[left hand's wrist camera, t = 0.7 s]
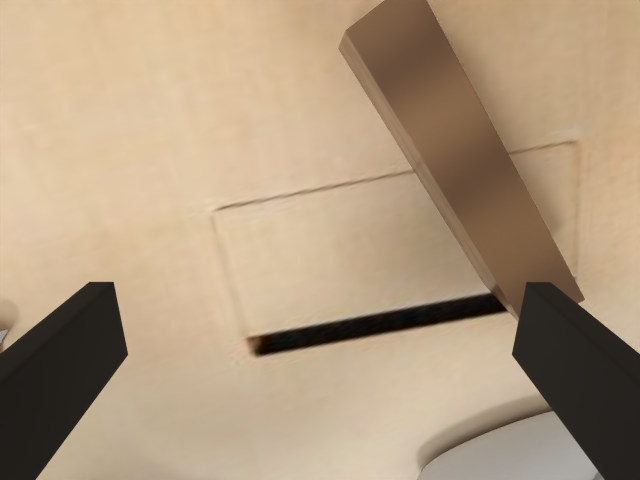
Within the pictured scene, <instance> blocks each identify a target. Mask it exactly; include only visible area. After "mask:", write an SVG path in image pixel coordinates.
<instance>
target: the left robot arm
mask: <svg viewBox="0 0 640 480" xmlns="http://www.w3.org/2000/svg"><path fill="white" fill-rule="evenodd" d="M127 356H128V352H127V347H126V342H125V337H124V332H123V327H122V322H121V317H120V312H119V307H118V302H117V297H116V292H115V287H114V282H89V283H88V284H86V285H85V286H84V287H83V288H81V289H80V290H79V291H78V292H76V293H75V294H74V295H73V296H72V297H70V298H69V299H68V300H67V301H65V302H64V303H63V304H62V305H60V306H59V307H58V308H57V309H55V310H54V311H53V312H52V313H50V314H49V315H48V316H47V317H46V318H44V319H43V320H42V321H41V322H39V323H38V324H37V325H36V326H34V327H33V328H32V329H31V330H29V331H28V332H27V333H26V334H25V335H23V336H22V337H21V338H20V339H18V340H17V341H16V342H15V343H13V344H12V345H11V346H10V347H8V348H7V349H6V350H5V351H4V352H2V353H1V354H0V480H36V478H37V477H38V476H39V474H40V473H41V472H42V470H43V469H44V468H45V466H46V465H47V464H48V462H49V461H50V460H51V458H52V457H53V455H54V454H55V453H56V451H57V450H58V449H59V447H60V446H61V445H62V443H63V442H64V441H65V439H66V438H67V437H68V435H69V434H70V432H71V431H72V430H73V428H74V427H75V426H76V424H77V423H78V422H79V420H80V419H81V418H82V416H83V415H84V414H85V412H86V411H87V410H88V408H89V407H90V405H91V404H92V403H93V401H94V400H95V399H96V397H97V396H98V395H99V393H100V392H101V391H102V389H103V388H104V387H105V385H106V384H107V383H108V381H109V380H110V378H111V377H112V376H113V374H114V373H115V372H116V370H117V369H118V368H119V366H120V365H121V364H122V362H123V361H124V360H125V358H126V357H127ZM512 356H513V357H514V358H515V360H516V361H517V362H518V364H519V365H520V366H521V368H522V369H523V370H524V372H525V373H526V374H527V376H528V377H529V378H530V380H531V381H532V383H533V384H534V385H535V387H536V388H537V389H538V391H539V392H540V393H541V395H542V396H543V397H544V399H545V400H546V401H547V403H548V404H549V405H550V407H551V408H552V410H553V411H554V412H555V414H556V415H557V416H558V418H559V419H560V420H561V422H562V423H563V424H564V426H565V427H566V428H567V430H568V431H569V432H570V434H571V435H572V437H573V438H574V439H575V441H576V442H577V443H578V445H579V446H580V447H581V449H582V450H583V451H584V453H585V454H586V455H587V457H588V458H589V460H590V461H591V462H592V464H593V465H594V466H595V468H596V469H597V470H598V472H599V473H600V474H601V476H602V477H603V478H604V480H640V354H639V353H638V352H636V351H635V350H634V349H633V348H632V347H630V346H629V345H628V344H627V343H625V342H624V341H623V340H622V339H620V338H619V337H618V336H617V335H615V334H614V333H613V332H612V331H611V330H609V329H608V328H607V327H606V326H604V325H603V324H602V323H601V322H599V321H598V320H597V319H596V318H594V317H593V316H592V315H591V314H590V313H588V312H587V311H586V310H585V309H583V308H582V307H581V306H580V305H578V304H577V303H576V302H575V301H573V300H572V299H571V298H570V297H568V296H567V295H566V294H565V293H564V292H562V291H561V290H560V289H559V288H557V287H556V286H555V285H554V284H552V283H551V282H526V287H525V292H524V297H523V302H522V307H521V312H520V317H519V322H518V327H517V332H516V337H515V342H514V347H513V352H512Z"/></svg>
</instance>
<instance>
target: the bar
mask: <svg viewBox="0 0 640 480" xmlns="http://www.w3.org/2000/svg"><path fill="white" fill-rule="evenodd" d="M339 50H340V52H341V53H342V55H343V56H344V58H345V60H346V61H347V63H348V64H349V66H350V68H351V69H352V71H353V73H354V74H355V76H356V77H357V79H358V81H359V82H360V84H361V86H362V87H363V89H364V90H365V92H366V94H367V95H368V97H369V98H370V100H371V102H372V103H373V105H374V107H375V108H376V110H377V111H378V113H379V115H380V116H381V118H382V119H383V121H384V123H385V124H386V126H387V128H388V129H389V131H390V132H391V134H392V136H393V137H394V139H395V140H396V142H397V144H398V145H399V147H400V149H401V150H402V152H403V153H404V155H405V157H406V158H407V160H408V161H409V163H410V165H411V166H412V168H413V170H414V171H415V173H416V174H417V176H418V178H419V179H420V181H421V182H422V184H423V186H424V187H425V189H426V191H427V192H428V194H429V195H430V197H431V199H432V200H433V202H434V203H435V205H436V207H437V208H438V210H439V212H440V213H441V215H442V216H443V218H444V220H445V221H446V223H447V225H448V226H449V228H450V229H451V231H452V233H453V234H454V236H455V237H456V239H457V241H458V242H459V244H460V246H461V247H462V249H463V250H464V252H465V254H466V255H467V257H468V258H469V260H470V262H471V263H472V265H473V267H474V268H475V270H476V271H477V273H478V275H479V276H480V278H481V279H482V281H483V283H484V284H485V286H486V287H487V288H488V289H489V290H490V291H491V292H492V293H493V294H494V296H495V297H496V298H497V299H498V300H499V301H500V302H501V303H502V304H503V306H504V307H505V308H506V309H507V310H508V311H509V312H510V313H511V314H512V316H513V317H514V318H515V319H516V320H517V321H518V322H519V317H520V312H521V307H522V302H523V297H524V292H525V287H526V282H551V283H552V284H554V285H555V286H556V287H557V288H559V289H560V290H561V291H562V292H564V293H565V294H566V295H567V296H568V297H570V298H571V299H572V300H573V301H575V302H576V303H577V304H578V303H580V302H582V301H583V300H585V298H584V297H583V295H582V293H581V291H580V289H579V287H578V285H577V283H576V281H575V280H574V278H573V276H572V274H571V272H570V270H569V268H568V266H567V264H566V263H565V261H564V259H563V257H562V255H561V253H560V251H559V249H558V247H557V246H556V244H555V242H554V240H553V238H552V236H551V234H550V232H549V231H548V229H547V227H546V225H545V223H544V221H543V219H542V217H541V215H540V214H539V212H538V210H537V208H536V206H535V204H534V202H533V200H532V198H531V197H530V195H529V193H528V191H527V189H526V187H525V185H524V183H523V181H522V180H521V178H520V176H519V174H518V172H517V170H516V168H515V166H514V165H513V163H512V161H511V159H510V157H509V155H508V153H507V151H506V149H505V148H504V146H503V144H502V142H501V140H500V138H499V136H498V134H497V132H496V131H495V129H494V127H493V125H492V123H491V121H490V119H489V117H488V115H487V114H486V112H485V110H484V108H483V106H482V104H481V102H480V100H479V98H478V97H477V95H476V93H475V91H474V89H473V87H472V85H471V83H470V82H469V80H468V78H467V76H466V74H465V72H464V70H463V68H462V66H461V65H460V63H459V61H458V59H457V57H456V55H455V53H454V51H453V49H452V48H451V46H450V44H449V42H448V40H447V38H446V36H445V34H444V32H443V31H442V29H441V27H440V25H439V23H438V21H437V19H436V17H435V16H434V14H433V12H432V10H431V8H430V6H429V4H428V2H427V0H385V1H383V2H382V3H381V4H379V5H378V6H377V7H376V8H374V9H373V10H372V11H370V12H369V13H368V14H367V15H365V16H364V17H363V18H361V19H360V20H359V21H357V22H356V23H355V24H354V25H352V26H351V27H350V28H348V29H347V30H346V31H345V33H344V36H343V38H342V41H341V43H340V46H339Z"/></svg>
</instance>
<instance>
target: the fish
mask: <svg viewBox="0 0 640 480" xmlns="http://www.w3.org/2000/svg"><path fill="white" fill-rule="evenodd" d="M8 330H9V329H6V330H2V331H0V344H1V342H2V341H3V339H4V338H5V336H6V334H7V332H8Z"/></svg>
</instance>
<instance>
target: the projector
mask: <svg viewBox="0 0 640 480" xmlns="http://www.w3.org/2000/svg"><path fill="white" fill-rule="evenodd" d="M417 480H604V478H603V477H602V476H601V474H600V473H599V472H598V470H597V469H596V468H595V466H594V465H593V464H592V462H591V461H590V460H589V458H588V457H587V455H586V454H585V453H584V451H583V450H582V449H581V447H580V446H579V445H578V443H577V442H576V441H575V439H574V438H573V437H572V435H571V434H570V432H569V431H568V430H567V428H566V427H565V426H564V424H563V423H562V422H561V420H560V419H559V418H558V416H557V415H556V414H555V412H554V411H551V412H547V413H543V414H540V415H536V416H533V417H529V418H526V419H523V420H520V421H517V422H514V423H511V424H508V425H506V426H503V427H500V428H498V429H495V430H492V431H490V432H488V433H485V434H483V435H480V436H478V437H476V438H474V439H471V440H469V441H467V442H465V443H463V444H461V445H459V446H456V447H454V448H452V449H451V450H449V451H447V452H445V453H443V454H442V455H440V456H438V457H437V458H435V459H434V460H432V461H431V462H430V463H429V464H428V465H426V467H425V468H424V469H423V470H422V471H421V473H420V474H419V477H418V479H417Z"/></svg>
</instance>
